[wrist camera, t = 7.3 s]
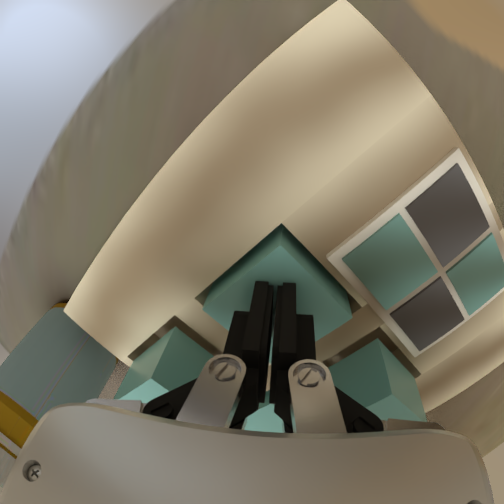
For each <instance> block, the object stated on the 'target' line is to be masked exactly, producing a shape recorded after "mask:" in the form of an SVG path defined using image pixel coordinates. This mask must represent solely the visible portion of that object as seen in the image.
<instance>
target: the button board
mask: <svg viewBox="0 0 504 504" xmlns="http://www.w3.org/2000/svg"><path fill="white" fill-rule="evenodd" d="M281 223H282V224H283V225H284V226H285V227H286V228H287V229H288V230H289V231H290V232H291V233H292V234H293V235H294V236H295V237H296V238H297V239H298V240H299V241H300V242H301V243H302V244H303V245H304V246H305V247H306V248H307V249H308V250H309V251H310V253H311V254H312V255H313V256H314V257H315V258H316V259H317V260H318V261H319V262H320V263H321V264H322V265H323V266H324V267H325V268H326V269H327V270H328V271H329V272H330V273H331V274H332V276H333V277H334V278H335V279H336V280H337V281H338V282H339V283H340V284H341V285H342V286H343V287H344V288H345V289H346V292H347V296H348V300H349V304H350V308H351V313H352V317H353V318H352V319H350V320H349V321H347V322H346V323H344V324H343V325H341V326H340V327H338V328H336V329H335V330H333V331H332V332H330V333H329V334H327V335H325V336H324V337H322V338H321V339H319V340H317V341H316V342H315V347H316V361H319V362H321V363H323V364H324V365H325V366H327V367H330V366H332V365H334V364H336V363H337V362H339V361H341V360H342V359H344V358H346V357H348V356H349V355H351V354H353V353H354V352H356V351H358V350H359V349H361V348H362V347H364V346H366V345H367V344H369V343H371V342H372V341H374V340H375V339H377V338H378V339H379V340H380V341H381V342H382V343H383V344H384V345H385V346H386V347H387V349H388V350H389V351H390V352H391V353H392V354H393V355H394V356H395V357H396V358H397V359H398V360H399V361H400V363H401V364H402V365H403V366H404V367H405V368H406V369H407V370H408V371H409V372H410V373H411V375H412V376H413V377H414V378H415V381H416V384H417V388H418V391H419V394H420V398H421V401H422V404H423V408H424V411H425V413H427V412H429V411H430V410H432V409H434V408H436V407H437V406H439V405H441V404H443V403H444V402H446V401H448V400H449V399H451V398H452V397H454V396H456V395H457V394H459V393H460V392H462V391H463V390H465V389H467V388H468V387H470V386H471V385H473V384H474V383H475V382H477V381H478V380H480V379H481V378H483V377H484V376H485V375H487V374H488V373H490V372H491V371H492V370H494V369H495V368H496V367H498V366H499V365H500V364H502V363H503V362H504V228H503V225H502V223H501V220H500V218H499V215H498V213H497V211H496V208H495V206H494V204H493V201H492V199H491V197H490V195H489V193H488V190H487V188H486V186H485V184H484V182H483V180H482V178H481V176H480V174H479V172H478V170H477V168H476V166H475V164H474V162H473V161H472V159H471V157H470V155H469V153H468V151H467V150H466V148H465V146H464V144H463V143H462V141H461V139H460V138H459V136H458V134H457V133H456V131H455V129H454V128H453V126H452V125H451V123H450V121H449V120H448V118H447V117H446V115H445V114H444V112H443V111H442V109H441V108H440V106H439V105H438V104H437V102H436V101H435V99H434V98H433V96H432V95H431V94H430V92H429V91H428V90H427V88H426V87H425V85H424V84H423V83H422V82H421V80H420V79H419V78H418V76H417V75H416V74H415V73H414V71H413V70H412V69H411V68H410V66H409V65H408V64H407V63H406V62H405V60H404V59H403V58H402V57H401V56H400V54H399V53H398V52H397V51H396V50H395V49H394V48H393V46H392V45H391V44H390V43H389V42H388V41H387V40H386V39H385V38H384V37H383V36H382V35H381V33H380V32H379V31H378V30H377V29H376V28H375V27H374V26H373V25H372V24H371V23H370V22H369V21H368V20H367V19H366V18H365V17H364V16H363V15H362V14H361V13H359V12H358V11H357V10H356V9H355V8H354V7H353V6H352V5H351V4H350V3H349V2H347V1H346V0H338V1H337V2H335V3H334V4H332V5H331V6H330V7H328V8H327V9H326V10H324V11H323V12H322V13H320V14H319V15H318V16H316V17H315V18H314V19H313V20H311V21H310V22H309V23H307V24H306V25H305V26H304V27H302V28H301V29H300V30H299V31H298V32H296V33H295V34H294V35H293V36H291V37H290V38H289V39H288V40H287V41H286V42H284V43H283V44H282V45H281V46H280V47H279V48H277V49H276V50H275V51H274V52H273V53H272V54H271V55H269V56H268V57H267V58H266V59H265V60H264V61H263V62H262V63H261V64H259V65H258V66H257V67H256V68H255V69H254V70H253V71H252V72H251V73H250V74H249V75H248V76H247V77H246V78H245V79H244V80H242V81H241V82H240V83H239V84H238V85H237V86H236V87H235V88H234V89H233V90H232V91H231V92H230V93H229V94H228V95H227V96H226V97H225V98H224V99H223V100H222V101H221V102H220V103H219V104H218V105H217V106H216V108H215V109H214V110H213V111H212V112H211V113H210V114H209V115H208V116H207V117H206V118H205V119H204V120H203V121H202V122H201V123H200V125H199V126H198V127H197V128H196V129H195V130H194V131H193V132H192V133H191V134H190V136H189V137H188V138H187V139H186V140H185V141H184V142H183V144H182V145H181V146H180V147H179V148H178V149H177V150H176V152H175V153H174V154H173V155H172V156H171V158H170V159H169V160H168V161H167V162H166V163H165V165H164V166H163V167H162V168H161V170H160V171H159V172H158V173H157V174H156V176H155V177H154V178H153V179H152V181H151V182H150V183H149V184H148V186H147V187H146V188H145V190H144V191H143V192H142V193H141V195H140V196H139V197H138V199H137V200H136V201H135V203H134V204H133V205H132V207H131V208H130V209H129V211H128V212H127V213H126V215H125V216H124V217H123V219H122V220H121V222H120V223H119V224H118V226H117V227H116V229H115V230H114V231H113V233H112V234H111V236H110V237H109V239H108V240H107V242H106V243H105V244H104V246H103V247H102V249H101V250H100V252H99V253H98V255H97V256H96V258H95V259H94V261H93V263H92V264H91V266H90V267H89V269H88V270H87V272H86V274H85V275H84V277H83V278H82V280H81V282H80V283H79V285H78V286H77V288H76V290H75V291H74V293H73V295H72V296H71V298H70V300H69V302H68V303H67V305H66V307H65V308H64V310H63V311H64V312H65V313H66V314H67V315H68V316H69V317H70V318H71V319H72V320H73V321H75V322H76V323H77V324H78V325H79V326H80V327H81V328H82V329H83V330H85V331H86V332H87V333H88V334H89V335H90V336H91V337H93V338H94V339H95V340H96V341H97V342H99V343H100V344H101V345H102V346H103V347H105V348H106V349H107V350H108V351H110V352H111V353H112V354H113V355H115V356H116V357H117V358H118V359H120V360H121V361H122V362H123V363H125V364H126V365H127V366H129V367H130V366H131V365H132V363H133V361H134V360H135V359H136V358H137V357H139V356H140V355H141V354H142V353H143V352H145V351H146V350H147V349H148V348H150V347H151V346H152V345H153V344H154V343H156V342H157V341H158V340H159V339H161V338H162V337H163V336H164V335H165V334H167V333H168V332H169V331H170V330H171V329H173V328H174V327H175V326H176V327H177V328H178V329H179V330H181V331H182V332H183V333H184V334H186V335H187V336H188V337H189V338H191V339H192V340H193V341H195V342H196V343H197V344H199V345H200V346H201V347H203V348H204V349H205V350H206V351H208V352H209V353H210V354H212V355H213V356H217V355H221V354H223V351H224V348H225V344H226V340H227V336H228V332H229V331H228V330H227V329H225V328H224V327H223V326H222V325H220V324H219V323H218V322H217V321H215V320H214V319H213V318H212V317H211V316H209V315H208V314H207V313H206V312H204V311H203V310H202V308H203V306H204V303H205V301H206V298H207V296H208V293H209V291H210V289H211V286H212V284H213V282H214V281H215V280H216V279H217V278H218V277H219V276H221V275H222V274H223V273H224V272H225V271H226V270H228V269H229V268H230V267H231V266H232V265H233V264H234V263H236V262H237V261H238V260H239V259H240V258H241V257H243V256H244V255H245V254H246V253H247V252H248V251H250V250H251V249H252V248H253V247H254V246H255V245H257V244H258V243H259V242H260V241H261V240H262V239H263V238H265V237H266V236H267V235H268V234H269V233H270V232H272V231H273V230H274V229H275V228H276V227H277V226H279V225H280V224H281ZM270 377H271V363H269V367H268V376H267V385H266V391H268V390H270Z"/></svg>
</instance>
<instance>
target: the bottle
mask: <svg viewBox="0 0 504 504" xmlns="http://www.w3.org/2000/svg"><path fill="white" fill-rule="evenodd" d="M66 305H67V303H58V304H56V305H54V306H53V307H52V308H51V309H50V310H48V312H47V313H46V314H45V315H44V316H43V317H42V318H41V319H40V320H39V321H38V322H37V324H36V325H35V326H34V327H33V328H32V329H31V330H30V331H29V333H28V334H27V335H26V336H25V337H24V338H23V339H22V341H21V342H20V343H19V344H18V345H17V346H16V348H15V349H14V350H13V351H12V352H11V354H10V355H9V356H8V357H7V359H6V360H5V361H4V362H3V364H2V365H1V366H0V486H1V487H2V488H3V486H4V484H5V482H6V479H7V477H8V475H9V473H10V471H11V469H12V467H13V464H14V462H15V460H16V458H17V456H18V454H19V452H20V450H21V449H22V447H23V445H24V443H25V442H26V440H27V438H28V436H29V435H30V433H31V432H32V430H33V429H34V427H35V426H36V424H37V423H38V422H39V420H40V419H41V418H42V416H43V415H44V414H45V413H46V412H47V411H49V410H50V409H51V408H53V407H55V406H57V405H61V404H66V403H80V402H83V403H85V402H86V401H88V400H90V399H95V398H98V397H99V395H100V393H101V391H102V390H103V388H104V386H105V384H106V383H107V381H108V379H109V377H110V375H111V374H112V372H113V370H114V368H115V366H116V364H117V362H118V358H117V357H116V356H115V355H113V354H112V353H111V352H110V351H108V350H107V349H106V348H105V347H103V346H102V345H101V344H100V343H99V342H97V341H96V340H95V339H94V338H93V337H91V336H90V335H89V334H88V333H87V332H86V331H85V330H83V329H82V328H81V327H80V326H79V325H78V324H77V323H76V322H75V321H73V320H72V319H71V318H70V317H69V316H68V315H67V314H66V313H65V312H64V311H63V310H64V308H65V307H66Z"/></svg>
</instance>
